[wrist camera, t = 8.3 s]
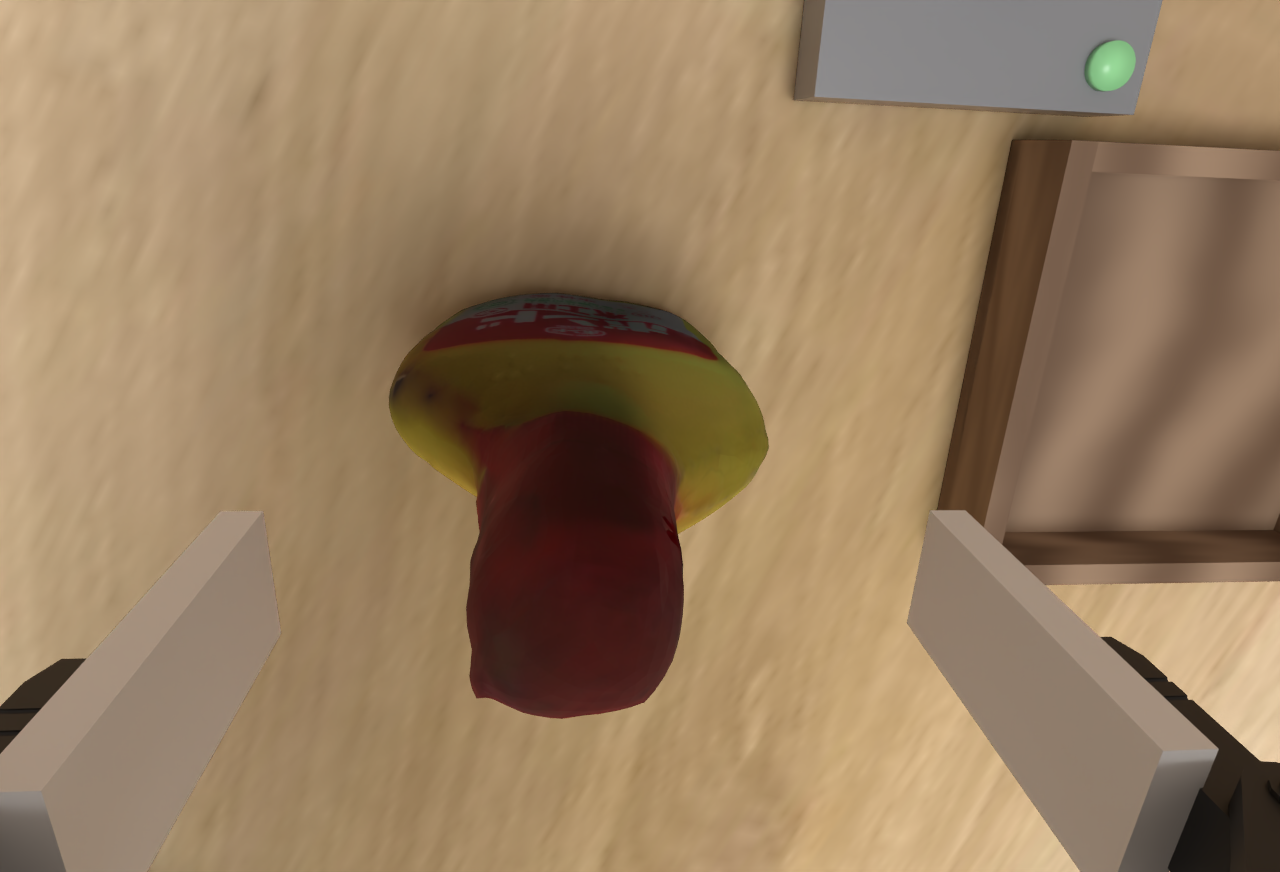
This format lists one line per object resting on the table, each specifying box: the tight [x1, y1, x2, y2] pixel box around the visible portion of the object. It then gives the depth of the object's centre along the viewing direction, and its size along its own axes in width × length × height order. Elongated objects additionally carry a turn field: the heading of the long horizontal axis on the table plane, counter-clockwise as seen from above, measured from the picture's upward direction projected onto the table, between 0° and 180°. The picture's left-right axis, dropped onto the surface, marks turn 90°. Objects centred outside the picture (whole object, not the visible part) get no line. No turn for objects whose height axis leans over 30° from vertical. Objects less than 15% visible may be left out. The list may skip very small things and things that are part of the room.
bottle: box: [389, 293, 769, 719], centre depth 22 cm, size 12×6×20 cm, turn 75°
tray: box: [937, 140, 1280, 585], centre depth 33 cm, size 18×18×4 cm
